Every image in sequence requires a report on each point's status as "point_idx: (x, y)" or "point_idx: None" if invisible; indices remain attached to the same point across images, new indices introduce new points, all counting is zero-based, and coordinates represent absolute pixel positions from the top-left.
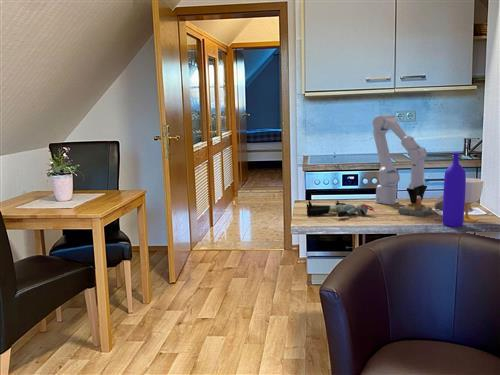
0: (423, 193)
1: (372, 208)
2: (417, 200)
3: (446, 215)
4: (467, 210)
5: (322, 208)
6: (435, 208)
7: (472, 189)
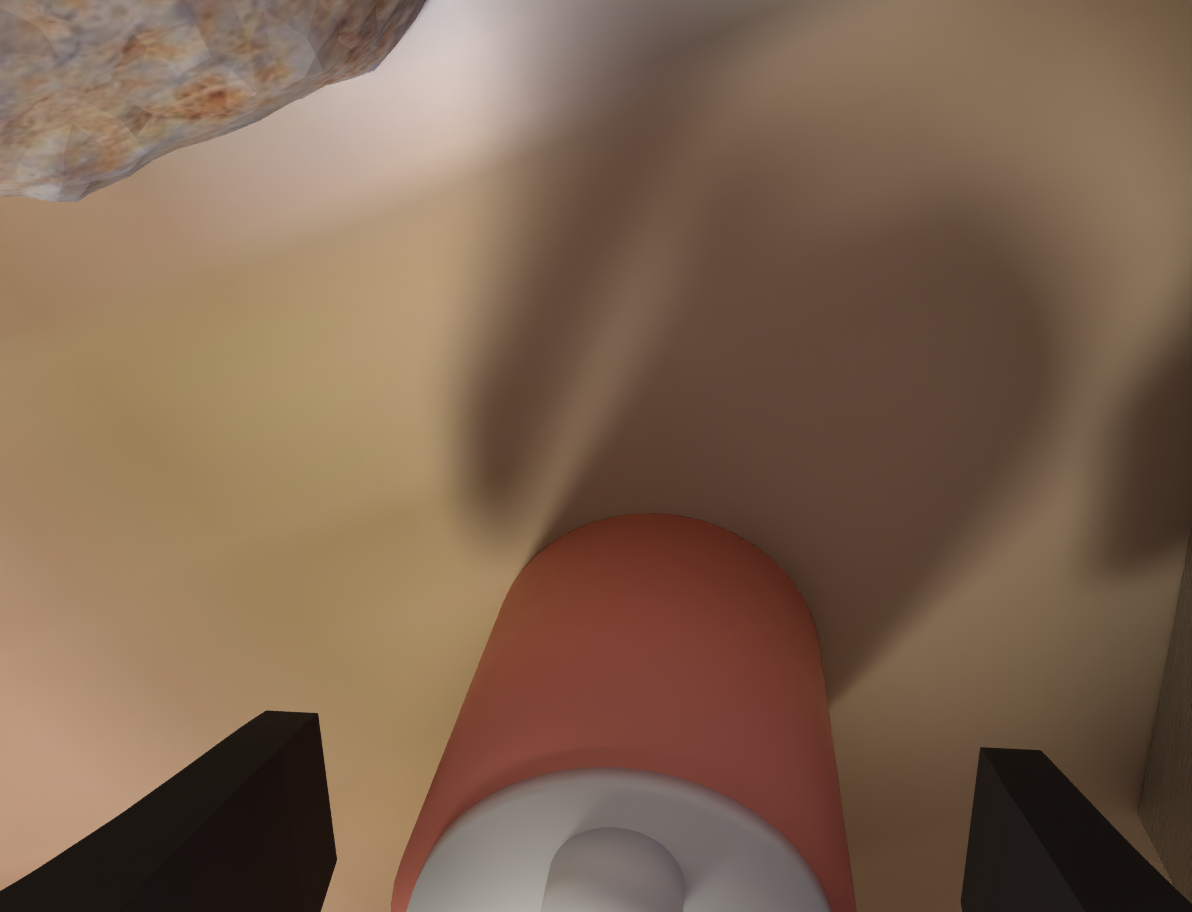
0: (102, 899)
1: None
2: (818, 791)
3: None
4: None
5: None
6: (419, 2)
7: None
